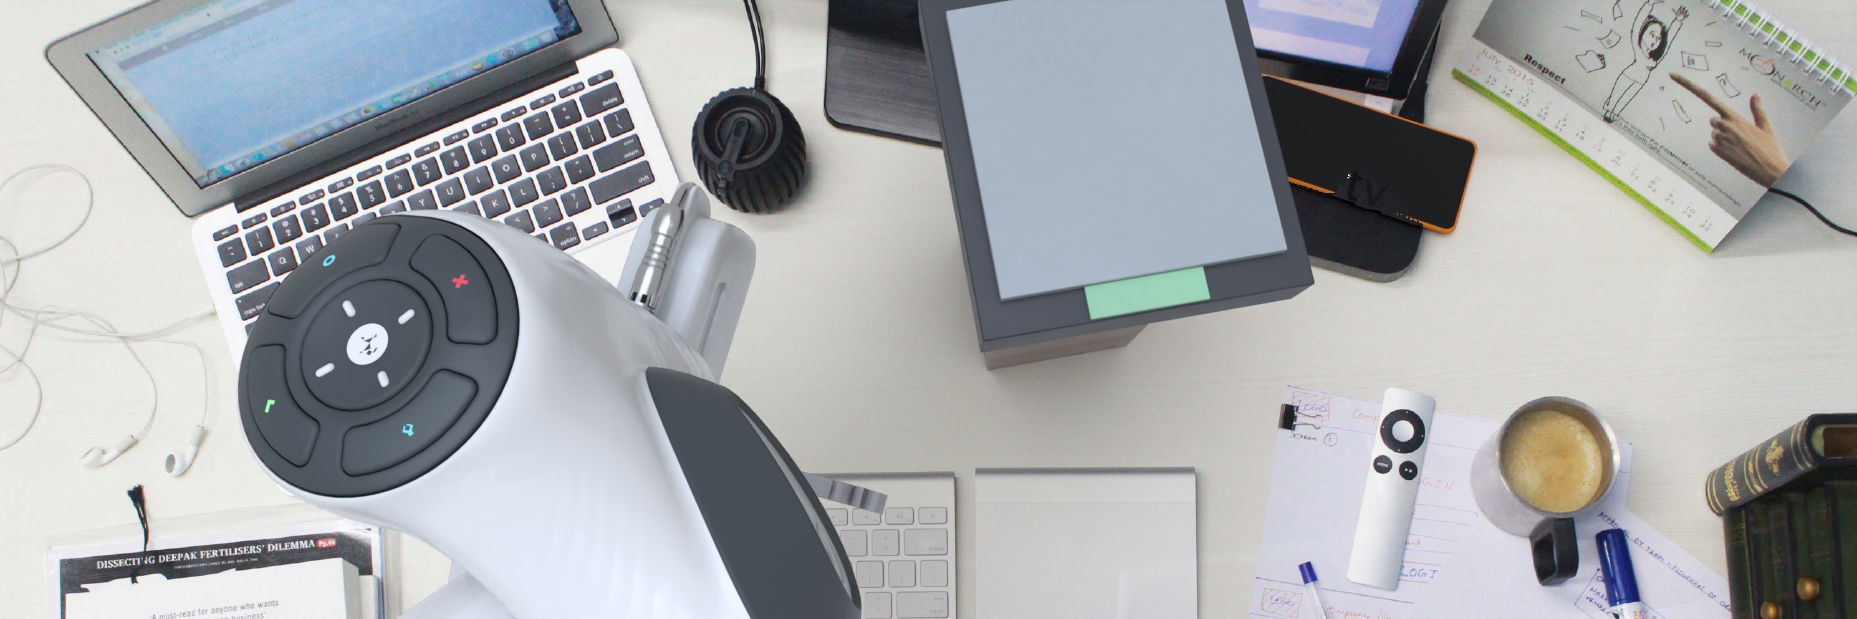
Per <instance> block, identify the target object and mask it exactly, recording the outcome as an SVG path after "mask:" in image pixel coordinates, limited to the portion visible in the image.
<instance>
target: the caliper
mask: <svg viewBox="0 0 1857 619" xmlns="http://www.w3.org/2000/svg"><path fill="white" fill-rule="evenodd" d="M801 472H802V473H803V475H804V476H805V478H806V479H807V481H808V482H809V484H810V485H811V487H812V489H813V490H814V492H815V493H816V495H817V497H818V498H820V499H823V500H828V501H831V502H834V503H838V504H842V505H845V506H849V507H853V508H857V509H861V510H864V511H868V512H871V513H875V514H878V515H883V514H884V510H885V506H886V503H887V500H888V494H885V493H883V492H881V491H877V490H873V489H870V488H866V487H864V486H860V485H854V484H851V483H848V482H845V481H841V480H836V479H833V478H829V477H826V476H821V475H818V474H814V473H810V472H806V471H802V470H801Z"/></svg>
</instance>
